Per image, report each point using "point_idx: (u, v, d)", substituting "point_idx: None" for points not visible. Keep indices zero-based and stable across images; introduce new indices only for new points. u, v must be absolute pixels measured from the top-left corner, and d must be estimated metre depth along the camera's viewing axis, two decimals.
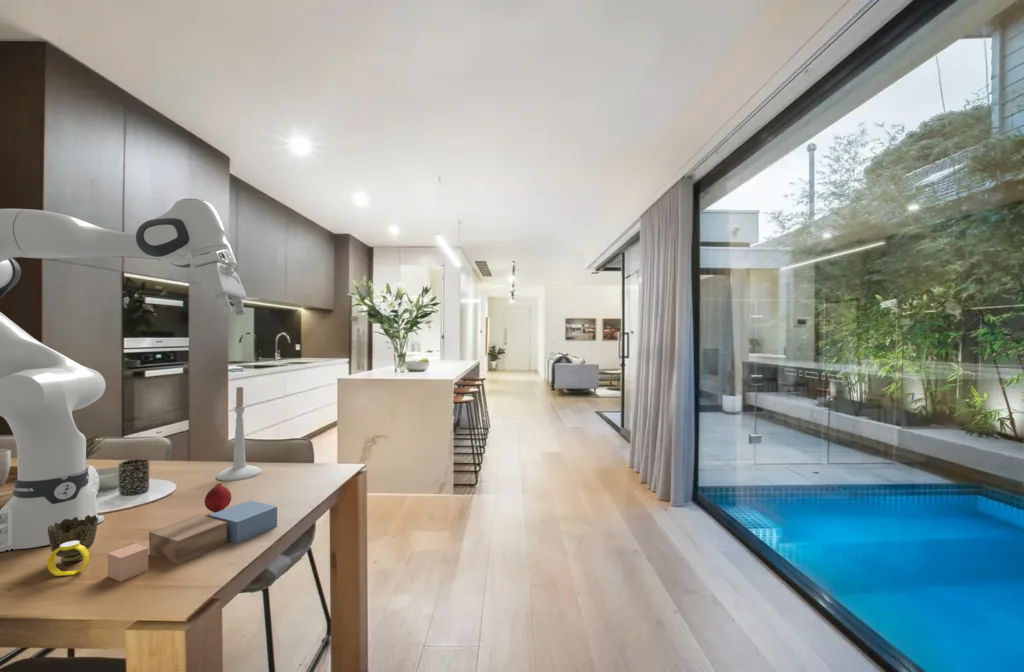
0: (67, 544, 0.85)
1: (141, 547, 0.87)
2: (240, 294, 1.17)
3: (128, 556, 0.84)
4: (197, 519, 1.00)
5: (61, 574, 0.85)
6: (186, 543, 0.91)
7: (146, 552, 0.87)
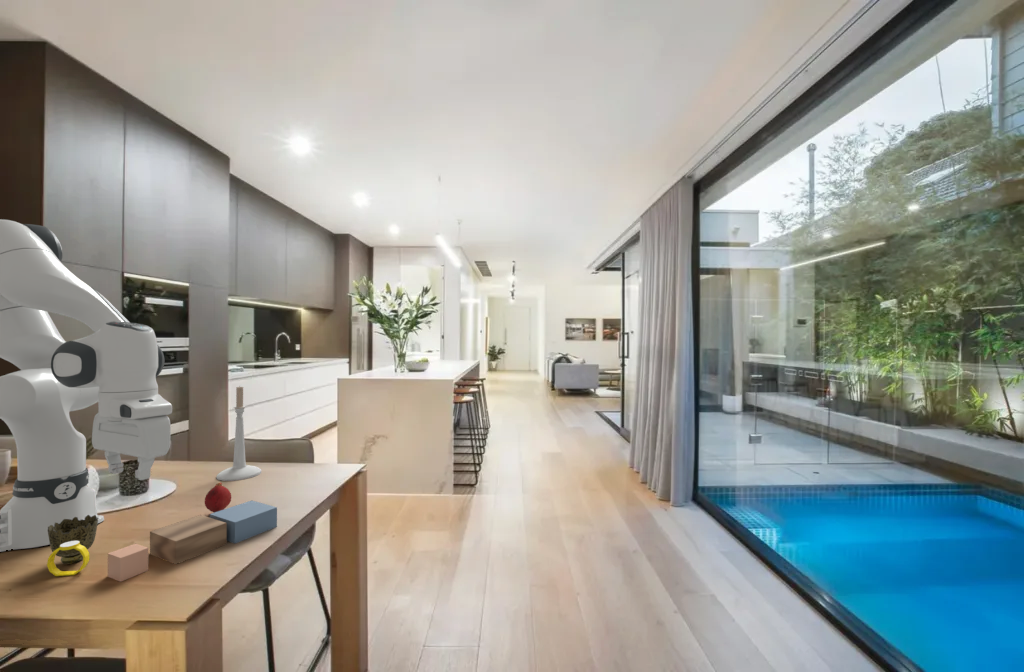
0: (66, 544, 0.85)
1: (141, 547, 0.87)
2: None
3: (128, 556, 0.84)
4: (198, 519, 1.00)
5: (61, 574, 0.85)
6: (184, 543, 0.91)
7: (146, 552, 0.87)
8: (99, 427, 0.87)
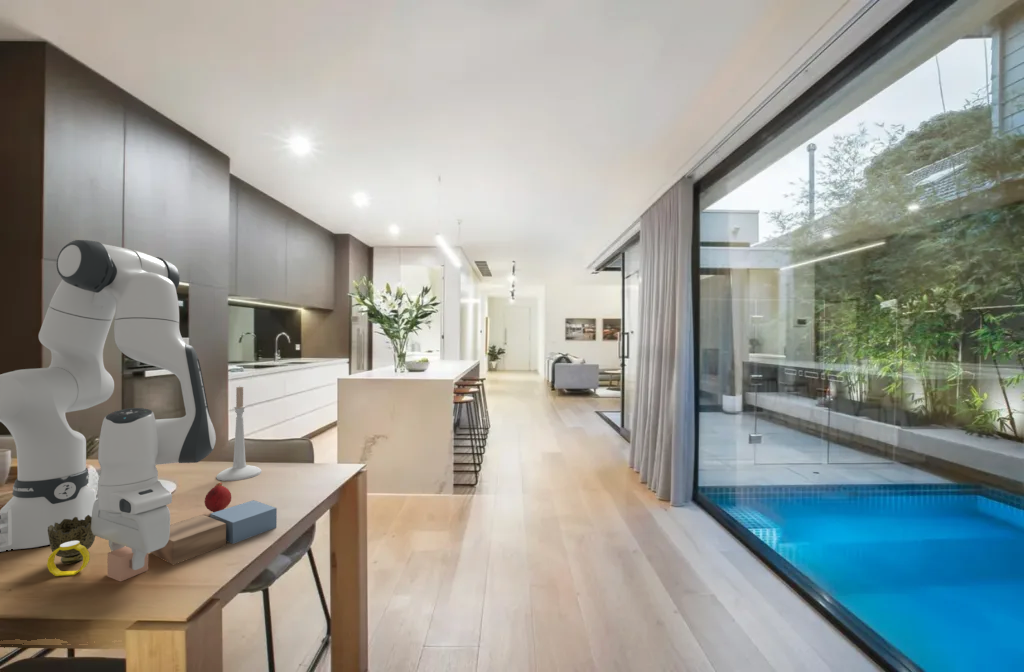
0: (67, 544, 0.85)
1: None
2: None
3: (128, 556, 0.84)
4: (199, 519, 1.00)
5: (61, 574, 0.85)
6: (182, 543, 0.90)
7: None
8: (98, 514, 0.87)
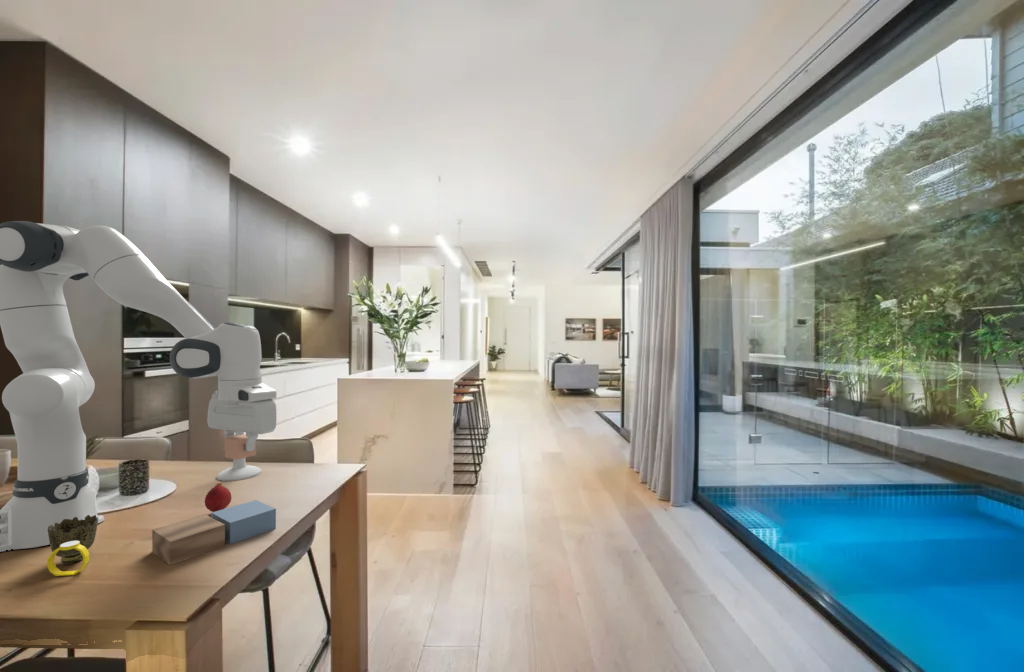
0: (67, 544, 0.85)
1: None
2: None
3: (242, 440, 1.02)
4: (200, 519, 1.00)
5: (61, 574, 0.85)
6: (179, 544, 0.90)
7: None
8: (214, 410, 1.06)
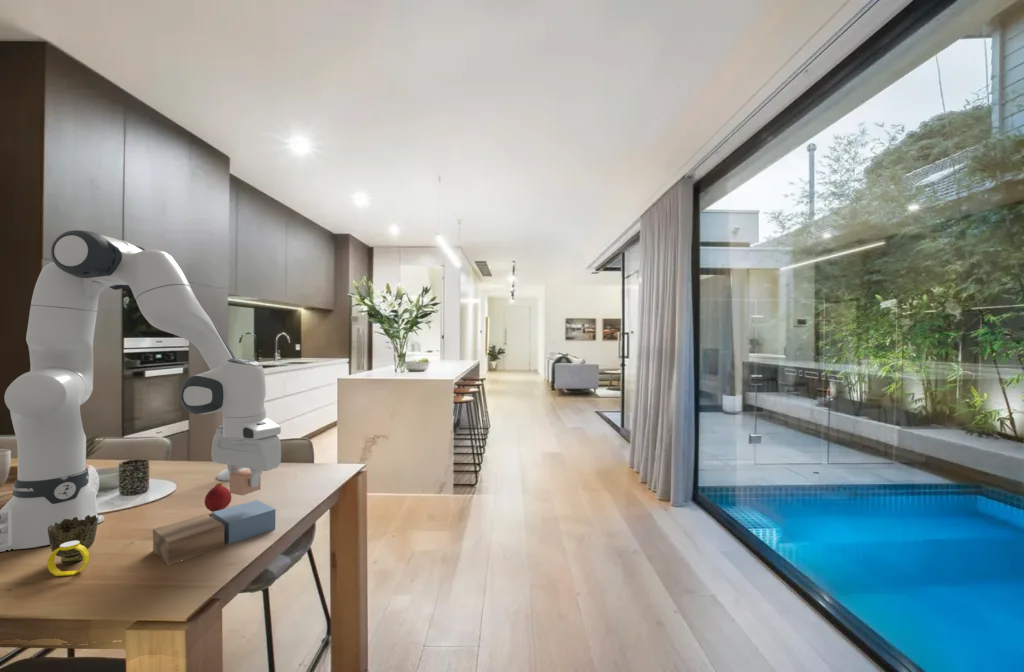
0: (67, 544, 0.85)
1: None
2: None
3: (247, 475, 1.04)
4: (201, 519, 1.00)
5: (61, 574, 0.85)
6: (178, 544, 0.90)
7: None
8: (218, 445, 1.07)
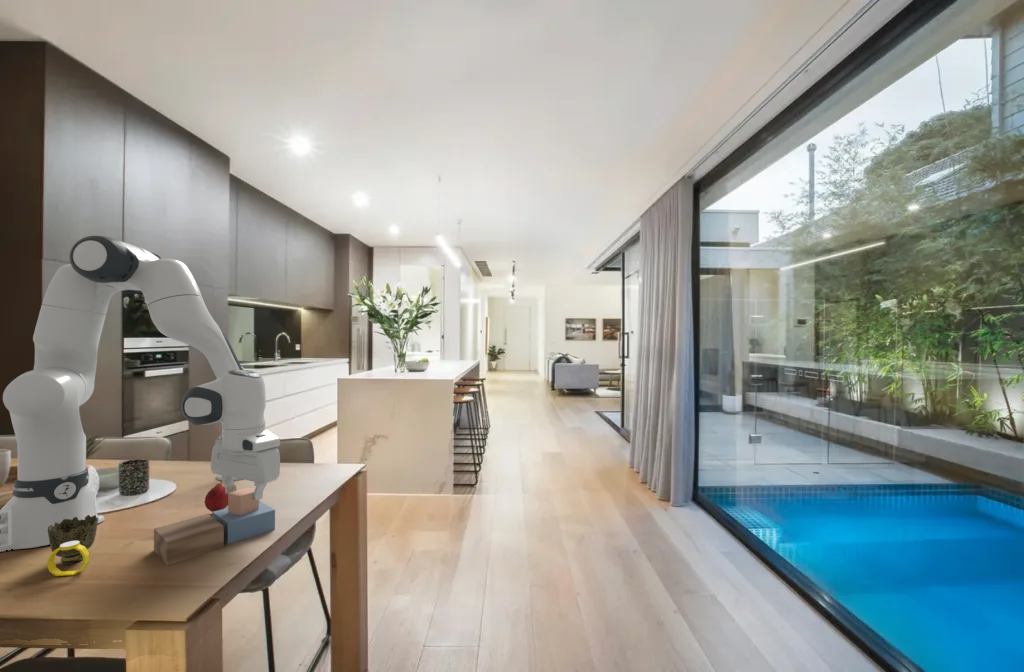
0: (66, 544, 0.85)
1: (253, 490, 1.06)
2: None
3: (245, 495, 1.03)
4: (202, 519, 1.00)
5: (61, 574, 0.85)
6: (176, 544, 0.90)
7: None
8: (218, 456, 1.07)
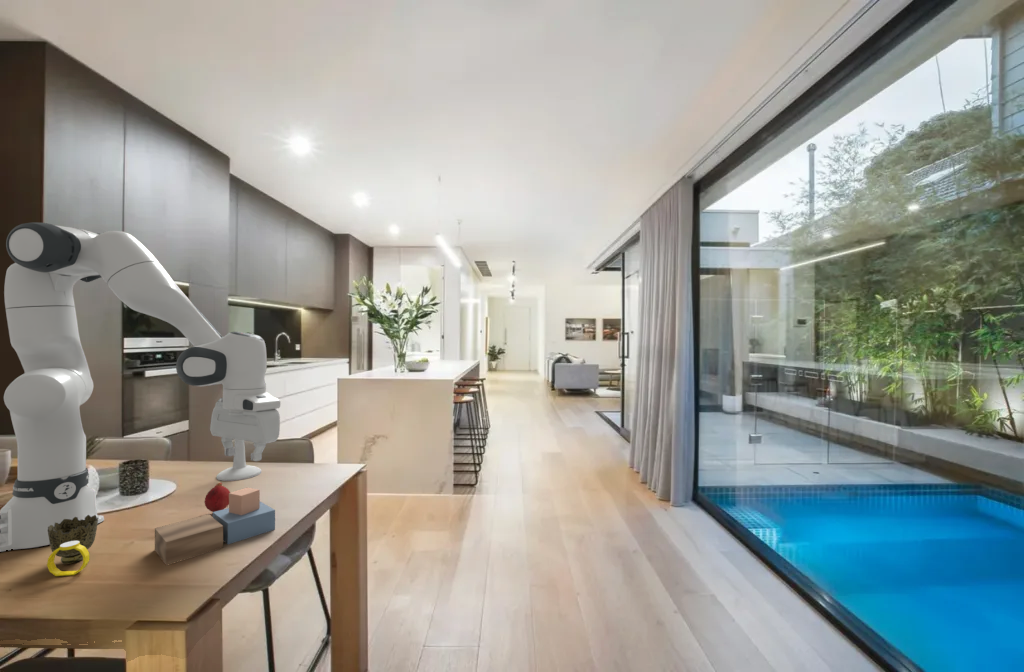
0: (66, 544, 0.85)
1: (253, 489, 1.07)
2: None
3: (246, 495, 1.04)
4: (202, 519, 1.00)
5: (61, 574, 0.85)
6: (175, 544, 0.90)
7: (258, 493, 1.06)
8: (218, 417, 1.07)
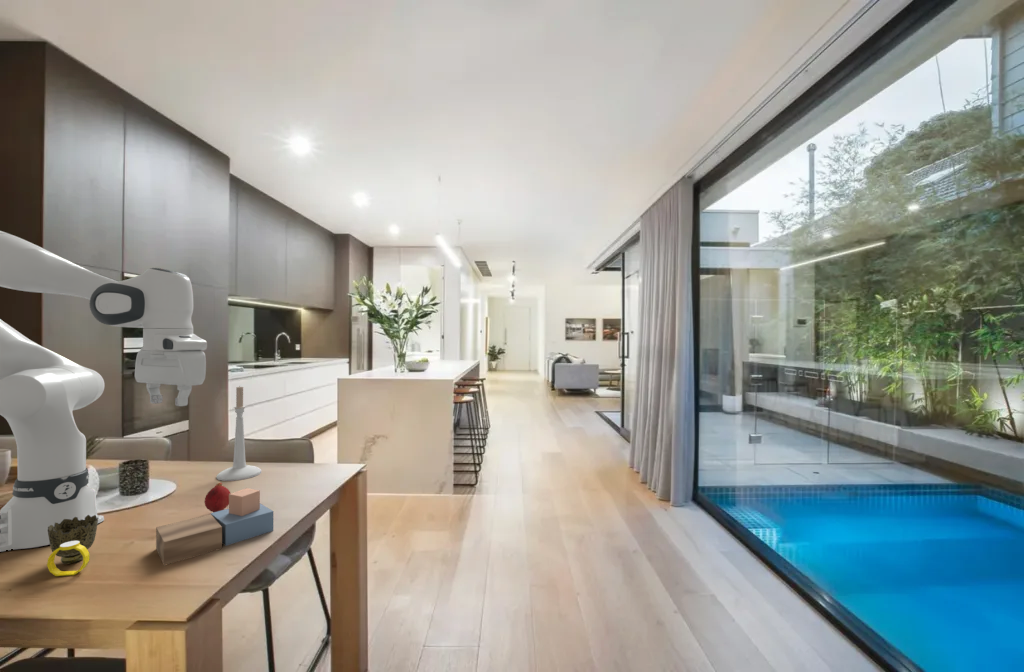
0: (66, 544, 0.85)
1: (253, 490, 1.06)
2: None
3: (246, 496, 1.03)
4: (203, 519, 1.00)
5: (61, 574, 0.85)
6: (173, 545, 0.90)
7: (258, 494, 1.06)
8: (141, 362, 0.99)
